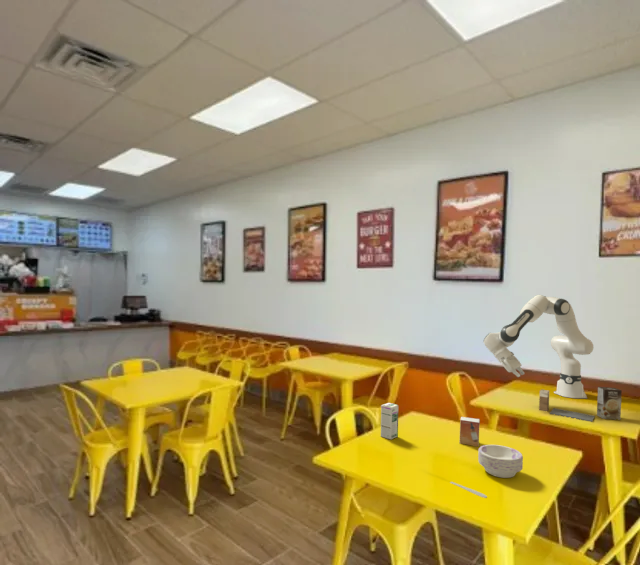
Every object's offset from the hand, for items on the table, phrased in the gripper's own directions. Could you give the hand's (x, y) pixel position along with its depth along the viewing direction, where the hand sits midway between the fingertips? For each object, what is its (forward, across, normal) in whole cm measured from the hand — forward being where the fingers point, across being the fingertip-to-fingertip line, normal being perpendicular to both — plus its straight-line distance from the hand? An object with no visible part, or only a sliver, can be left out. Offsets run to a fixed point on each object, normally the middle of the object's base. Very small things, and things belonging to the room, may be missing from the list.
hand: (521, 375), depth 249 cm
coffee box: (+43, +10, -17) cm, 47 cm away
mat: (+31, 0, -6) cm, 32 cm away
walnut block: (+21, 0, +4) cm, 22 cm away
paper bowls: (+26, -105, +1) cm, 108 cm away
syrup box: (-9, -101, +36) cm, 107 cm away
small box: (+12, -83, +14) cm, 85 cm away
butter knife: (+18, -125, +9) cm, 127 cm away
